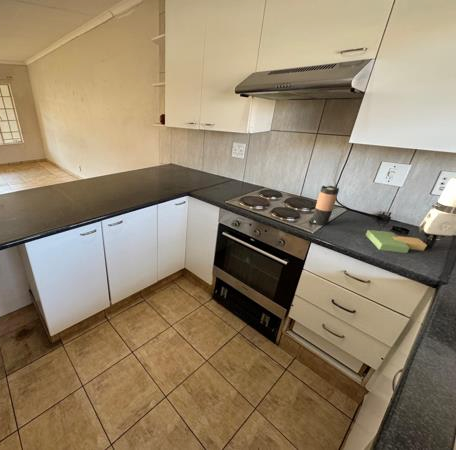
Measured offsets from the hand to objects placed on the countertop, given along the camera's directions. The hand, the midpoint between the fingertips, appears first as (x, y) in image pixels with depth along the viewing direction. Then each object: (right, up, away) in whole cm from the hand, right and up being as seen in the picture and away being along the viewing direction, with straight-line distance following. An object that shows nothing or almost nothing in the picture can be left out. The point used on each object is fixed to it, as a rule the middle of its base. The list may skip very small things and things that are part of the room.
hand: (426, 246), depth 109 cm
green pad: (-14, +1, +4) cm, 15 cm away
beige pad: (-7, 0, +3) cm, 7 cm away
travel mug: (-32, +10, +24) cm, 41 cm away
